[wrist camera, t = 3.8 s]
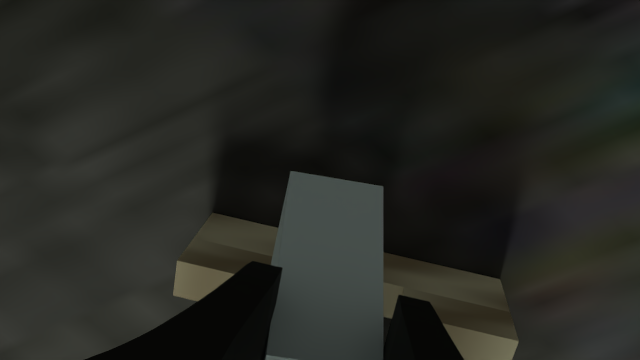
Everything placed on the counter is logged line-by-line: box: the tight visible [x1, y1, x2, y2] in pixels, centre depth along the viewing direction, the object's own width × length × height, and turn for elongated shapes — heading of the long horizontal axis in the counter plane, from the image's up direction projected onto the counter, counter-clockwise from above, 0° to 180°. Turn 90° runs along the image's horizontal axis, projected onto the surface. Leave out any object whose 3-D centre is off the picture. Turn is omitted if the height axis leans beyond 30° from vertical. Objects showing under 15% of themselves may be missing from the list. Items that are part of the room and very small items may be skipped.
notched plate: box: [264, 171, 383, 360], centre depth 16 cm, size 10×2×4 cm, turn 165°
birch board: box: [173, 213, 519, 360], centre depth 19 cm, size 10×1×4 cm, turn 79°
